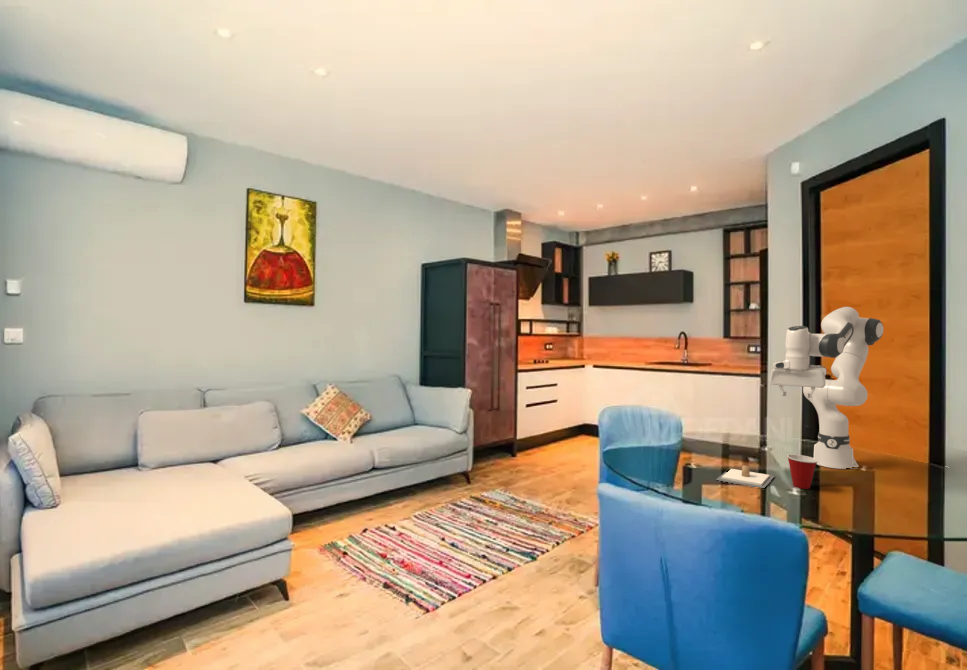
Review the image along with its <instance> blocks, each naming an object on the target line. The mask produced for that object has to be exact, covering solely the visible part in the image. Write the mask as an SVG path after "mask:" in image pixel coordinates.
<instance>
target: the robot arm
mask: <svg viewBox="0 0 967 670" xmlns="http://www.w3.org/2000/svg"><path fill="white" fill-rule="evenodd" d="M820 327H821V331H822V332H823V333H811V332H809V327H807V326H805V325H795V326H791V327H788V328H787V329H786V333H785V344H784V345H785V352H786V353H785V357H784V358H785V359H784V360H780V361H776V362H774V363H773V364H772V368H773V369H771V370H770V374H769V375H770V376H769V383H770V385H772V386H778V389H779V390H780V392H781V396H782V397H787V396H788V393H787V391H785V390H784V387H785V386H786V387H802V392H803V395H804V397H805V398H806V399H807V400H808V401H809V402H810V403H812V405H813V406H814V408H815V410H816V413H817V417H818V425H819V429H818V430H819V431H818V433H817V440H818V441H817V442H816V443H815V444H814V445H813V446H814V447H813V457H812V458H815V459H817V460H818V462H817V464H816V465H818V466H822V467H826V468H830V469H831V468H832V469H839V470H847V469H846V468H850V469H853V468H852V467H859V468H860V466H859V464H858V463H857V461H856V459H855V456H854V449H853V448H852V447H851V445H850V443H851V442H850V441H851V438H850V435H849V419H848V417H847V415H845V414H844V413H842V412H841V411H839V409H838V407H837V406H845V407H857V406H862V405H864V404H865V403H866V401H867V399H868V390H867V388H866V387H865V386H864V384H862V383H861V381H860V379H859V377H860V374H861V372H862V370H863V368H864V366H865V363H866V361H867V357H868V355H869V346H873V345H874V344H875V343H877V342H878V341H879V340H880V339H881V338H882V336H883V334H884V331H885V330H884V324H883V322H882V321H881V320H880V319H878V318H872V317H870V318H868V317H860V314H859V312H858V311H857V310H856V309H855V308H853V307H850V306H843V307H840V308H837V309H835V310H833V311H831V312H830V313H828V314H827V315H825V316H824V318H822V321H821V323H820ZM810 356H811V357H822V358H823V357H825V358H831V359H834V361H833V362H832V364H831V368H830V371H831V373H832V375H833V377H835V378H837V379H827V378H826V375H827V368H826V367H825V366H823V365H822V364H821V365H820V364H819V365H815V364H810Z"/></svg>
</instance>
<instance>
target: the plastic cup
mask: <svg viewBox="0 0 967 670" xmlns="http://www.w3.org/2000/svg"><path fill="white" fill-rule="evenodd" d="M786 457H787V460H788V464H789V465H788V466H789V471H790V477H791V480H792V485H793V487H794V488H796V489H802V490H803V489H804V490H805V489H806V490H808V489H811V485H812V481H813V477H814V473H815V469H816V466H817V465H818V464H817V462H818V460H817V459H815V458H813V457H812V456H808V455H803V454H792V453H790V454H787V455H786Z"/></svg>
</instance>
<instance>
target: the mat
mask: <svg viewBox="0 0 967 670" xmlns="http://www.w3.org/2000/svg"><path fill="white" fill-rule="evenodd" d="M729 469H730V470H731V469H732V468H729ZM726 473H727V472H726V471H724V472H723V473H722V474H721V475H719V476H718V477H717V478H716V479H715V481H716V480H719V481H718V482H720V481H723V482H722V483H725V482H728V483H727V484H731V483H733V484H732V485H736V484H741V485H740V486H742V485H748V486H751V487H750V488H753V487H759V488H765V487H766V486H767V485H768V484H770V483H771V482H772V481H773V480H774V479H775V478H774V477H776V475H772V474H771V475H770V474H769V475H770V477H769V478H768V479H767V480H766V481H765V482H764V483H763V485H762V486H760V485H754V484H749V483H743V482H737V481H732V480H726V479H722V476H723V475H724V474H726ZM773 478H774V479H773ZM772 479H773V480H772ZM771 480H772V481H771ZM770 481H771V482H770ZM768 486H769V485H768ZM768 486H767V487H768ZM767 487H766V488H767ZM766 488H765V489H766Z"/></svg>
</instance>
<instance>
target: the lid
mask: <svg viewBox="0 0 967 670" xmlns="http://www.w3.org/2000/svg"><path fill="white" fill-rule="evenodd" d="M750 468H751V467H750V466H748V465H746V464H745V465H744V464H743V465H741V469H737V468H730V469H731V470H729V471H728V472H727V473H726V474H724V475H723V476H722V479H726V480H732V481H737V482H743V483H749V484H754V485H760V486H762V485H763V483H764V482H765V481H766V480H767V479H768V478H769V477H770V474H765V473H761V472H760V473H759V472H753V471H751V469H750Z"/></svg>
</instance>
